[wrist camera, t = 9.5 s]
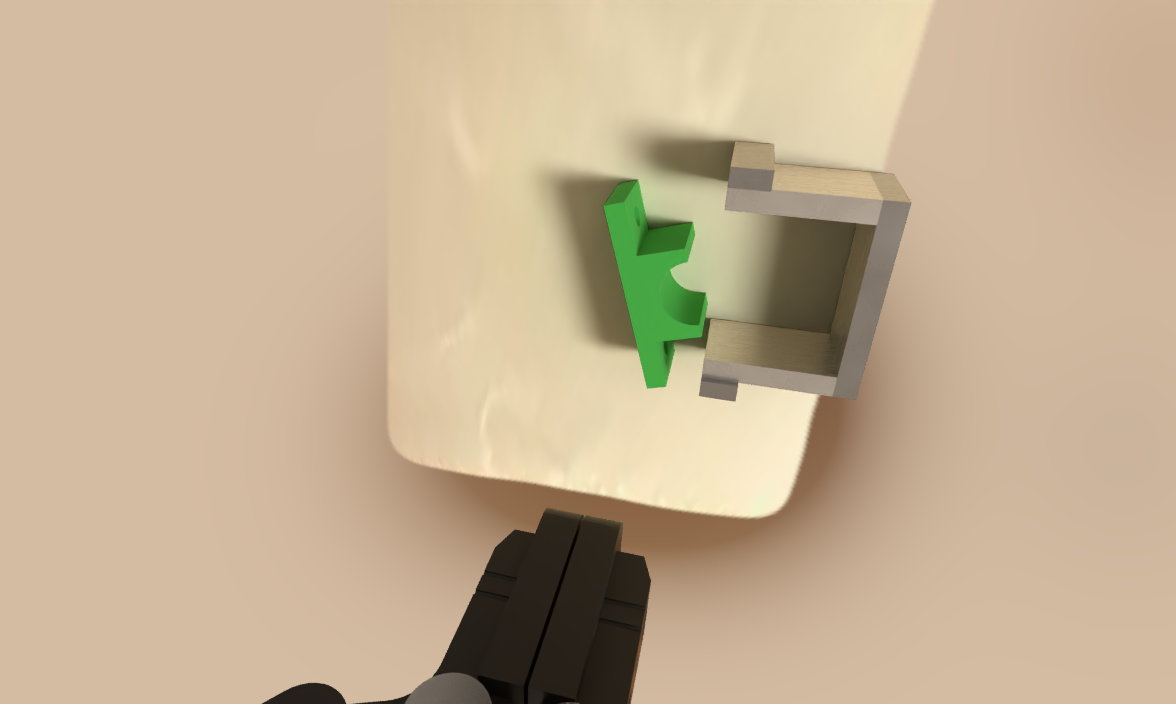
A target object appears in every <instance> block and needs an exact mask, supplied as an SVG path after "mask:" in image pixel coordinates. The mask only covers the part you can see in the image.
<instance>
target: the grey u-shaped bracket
mask: <svg viewBox="0 0 1176 704" xmlns="http://www.w3.org/2000/svg"><path fill="white" fill-rule="evenodd" d="M910 206H911V201H910V200H909V198H908V196H907V195H906V193H905V191H904V190H903V188H902V187H901V185H900V183H899V182H898V180H897V178H896V177H895V175H894V174H888V173H876V172H865V171H853V170H842V169H830V168H818V167H807V166H795V165H783V164H775V161H774V144H764V143H752V142H740V141H735V146H734V151H733V156H732V161H731V166H730V173H729V181H728V189H727V196H726V204H725V210H729V211H739V212H749V213H759V214H769V215H779V216H789V217H799V218H809V219H819V220H829V221H839V222H849V223H857V225H856V229H855V233H854V237H853V241H852V246H851V250H850V254H849V258H848V262H847V266H846V270H845V274H844V279H843V283H842V287H841V291H840V295H839V299H838V303H837V307H836V311H835V316H834V320H833V324H832V328H831V332H830V334H826V333H819V332H811V331H803V330H796V329H788V328H781V327H773V326H765V325H758V324H750V323H742V322H735V321H727V320H719V319H712V318H711V322H710V328H709V334H708V339H707V345H706V351H705V357H704V364H703V372H702V379H701V385H700V393H699V396H702V397H709V398H715V399H722V400H728V401H735V400H736V394H737V388H738V383H744V384H751V385H758V386H765V387H771V388H778V389H785V390H792V391H798V392H805V393H812V394H819V395H826V396H832V397H839V398H846V399H853V400H856V397H857V394H858V390H859V386H860V383H861V380H862V376H863V373H864V369H865V365H866V362H867V358H868V355H869V351H870V347H871V344H872V341H873V337H874V333H875V330H876V326H877V323H878V319H879V316H880V312H881V309H882V305H883V302H884V298H885V295H886V291H887V287H888V284H889V280H890V277H891V273H892V270H893V266H894V262H895V259H896V255H897V252H898V248H899V245H900V241H901V238H902V234H903V231H904V227H905V224H906V220H907V216H908V212H909V209H910Z"/></svg>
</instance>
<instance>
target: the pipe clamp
mask: <svg viewBox="0 0 1176 704" xmlns="http://www.w3.org/2000/svg"><path fill="white" fill-rule="evenodd" d="M603 207H604V211H605V215H606V219H607V223H608V228H609V232H610V236H611V240H612V244H613V248H614V253H615V257H616V261H617V265H618V269H619V273H620V277H621V282H622V286H623V290H624V294H625V298H626V302H627V307H628V311H629V315H630V319H631V323H632V327H633V332H634V336H635V340H636V344H637V348H638V352H639V357H640V361H641V365H642V369H643V373H644V377H645V381H646V386H647V388H658V387H666V384H667V380H668V376H669V372H670V367H671V363H672V359H673V355H674V351H675V350H674V346H673V341H672V340H680V339H688V338H697V337H702V332H703V327H704V321H705V316H706V310H707V305H708V303H707V297H706V293H695V292H691V291H688V290H686V289H684V288H683V287H681V286H680V285H679V284H678V283H677V282H676V281H675V280H674V278H673V277H672V275H671V272H670V269H672V268H673V267H675V266H676V265H679V264H681V263H685V262H687V261H688V258H689V254H690V251H691V247H692V244H693V240H694V236H695V231H694V226H693V222H691V223H685V224H679V225H673V226H667V227H661V228H655V229H648V224H647V219H646V215H645V210H644V205H643V201H642V196H641V191H640V186H639V182H638V180H634V181H629V182H624V183H619V184H618V186H617V187H616V189H615V190H614V191H613V193H612V194H611V196H610V197H609V199H608V200H607V201H606V203H605V204H604V206H603Z"/></svg>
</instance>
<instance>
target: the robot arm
mask: <svg viewBox="0 0 1176 704" xmlns="http://www.w3.org/2000/svg"><path fill="white" fill-rule="evenodd" d="M622 530H623V523H621V522H615V521H611V520H606V519H601V518H596V517H591V516H585V518H584V515H580V514H575V513H571V512H565V511H560V510H556V509H551V508H547V509H546V510H545V511H544V513H543V516H542V518H541V520H540V523H539V525H538V528H537V530H536V533H535V534H534V533H529V532H524V531H520V530H514V531H513V532H512V533H511V534H509V535H508V536H507V537H506V538H505V539H504V540H503V541H502V542H501V543H500V544H499V545H497V546H496V547H495V549H494V551H493V554H492V556H491V558H490V560H489V562H488V564H487V566H486V569H485V572H484V575H482V577H481V580H480V581H479V584H478V586H477V588H476V592H475V594H473V597H472V599H471V601H470V603H469V605H468V607H467V610H466V612H465V614H464V616H463V618H462V620H461V623H460V625H459V627H458V629H457V631H456V633H455V635H454V638H453V640H452V642H451V644H450V646H449V648H448V650H447V653H446V655H445V657H444V659H443V661H442V663H441V665H440V667H439V669H438V670H437V672H436V673H435V674H434V675H433V677H432V678H430V679H428V680H426V681H425V682H423V683H422V684H421V685H419V686H418V687H417V688H416V689H415V690H414V691H413V692H412V693H411V694H409V695H406V696H404V697H401V698H398V699H394V700H388V701H378V702H367V703H356V704H631V698H632V693H633V688H634V682H635V677H636V672H637V667H638V661H639V656H640V651H641V645H642V640H643V635H644V628H645V620H646V614H647V606H648V599H649V592H650V583H651V580H650V576H649V572H648V569H647V566H646V562H645V558H644V557H643V556H638V555H634V554H629V553H624V552H620V551H621V541H622ZM262 704H346V702H345V699H344V698H343V696H342V695H341V694H340V693H339V692H338V691H337V690H336V689H334V688H333V687H331V686H329V685H326V684H320V683H307V684H302V685H298V686H295V687H292V688H290V689H288V690H286V691H284V692H282V693H280V694H279V695H277V696H275V697H273V698H271V699H269V700H268V701H266V702H264V703H262Z"/></svg>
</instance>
